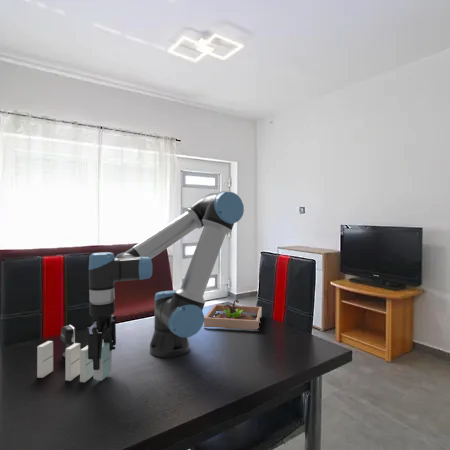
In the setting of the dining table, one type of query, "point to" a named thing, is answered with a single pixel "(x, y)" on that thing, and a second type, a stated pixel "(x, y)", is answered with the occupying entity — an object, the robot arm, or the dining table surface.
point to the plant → (234, 313)
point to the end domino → (44, 359)
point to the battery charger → (68, 336)
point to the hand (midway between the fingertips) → (103, 374)
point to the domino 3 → (105, 360)
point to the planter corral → (233, 322)
